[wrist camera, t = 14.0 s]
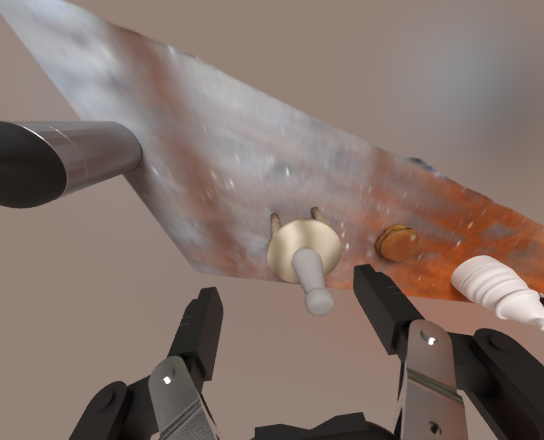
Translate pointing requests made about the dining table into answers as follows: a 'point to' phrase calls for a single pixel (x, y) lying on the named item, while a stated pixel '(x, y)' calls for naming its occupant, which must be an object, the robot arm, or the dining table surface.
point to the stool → (302, 244)
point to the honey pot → (498, 290)
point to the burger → (398, 243)
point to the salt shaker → (312, 281)
